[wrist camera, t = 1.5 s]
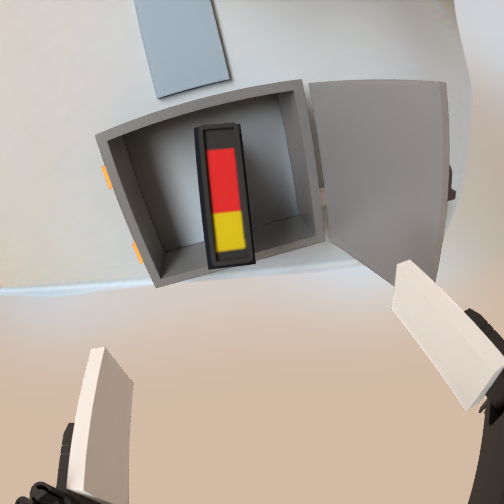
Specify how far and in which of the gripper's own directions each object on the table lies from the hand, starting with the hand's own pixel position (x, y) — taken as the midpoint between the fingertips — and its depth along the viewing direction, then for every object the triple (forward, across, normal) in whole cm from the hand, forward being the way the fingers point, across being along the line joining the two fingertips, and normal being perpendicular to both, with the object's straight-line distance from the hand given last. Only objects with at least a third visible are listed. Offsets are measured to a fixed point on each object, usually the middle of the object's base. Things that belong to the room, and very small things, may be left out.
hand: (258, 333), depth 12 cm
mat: (+25, 0, +18) cm, 31 cm away
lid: (+11, +12, 0) cm, 16 cm away
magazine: (+25, 0, 0) cm, 25 cm away
